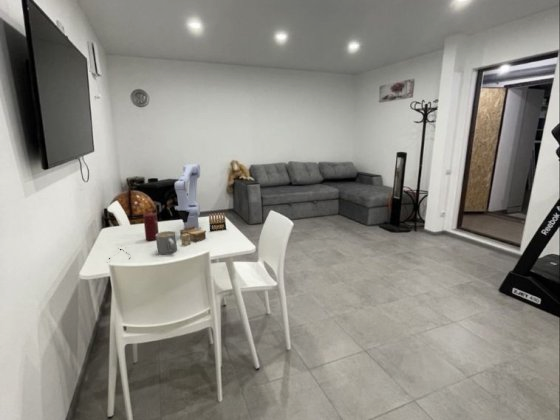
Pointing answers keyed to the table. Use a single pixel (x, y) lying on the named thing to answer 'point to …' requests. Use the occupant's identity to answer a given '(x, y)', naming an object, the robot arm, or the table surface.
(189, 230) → the lid
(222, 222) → the ammunition clip
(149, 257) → the table surface
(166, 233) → the coffee mug
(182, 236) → the tan wooden block
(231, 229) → the table surface
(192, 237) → the wooden box
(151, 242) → the table surface
